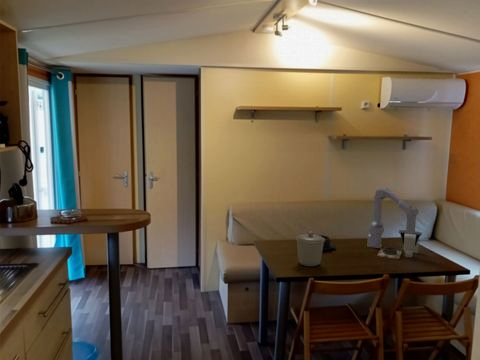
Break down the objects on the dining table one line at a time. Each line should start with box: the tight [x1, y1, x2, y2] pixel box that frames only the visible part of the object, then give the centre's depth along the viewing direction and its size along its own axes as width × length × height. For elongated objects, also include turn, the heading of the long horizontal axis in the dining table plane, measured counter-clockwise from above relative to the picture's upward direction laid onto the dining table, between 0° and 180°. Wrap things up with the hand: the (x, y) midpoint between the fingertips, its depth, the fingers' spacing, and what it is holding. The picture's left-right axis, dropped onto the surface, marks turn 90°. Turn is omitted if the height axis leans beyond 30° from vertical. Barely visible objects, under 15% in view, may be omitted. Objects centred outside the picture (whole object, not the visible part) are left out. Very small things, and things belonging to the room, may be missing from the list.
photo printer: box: [403, 234, 420, 254], centre depth 295 cm, size 10×4×12 cm, turn 39°
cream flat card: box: [376, 246, 403, 260], centre depth 287 cm, size 14×18×4 cm
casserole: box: [318, 234, 337, 252], centre depth 297 cm, size 25×19×8 cm
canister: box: [295, 230, 325, 267], centre depth 261 cm, size 18×18×21 cm
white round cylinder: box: [404, 248, 414, 258], centre depth 284 cm, size 5×5×5 cm
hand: (409, 244), depth 283 cm, fingers open, 7 cm apart
